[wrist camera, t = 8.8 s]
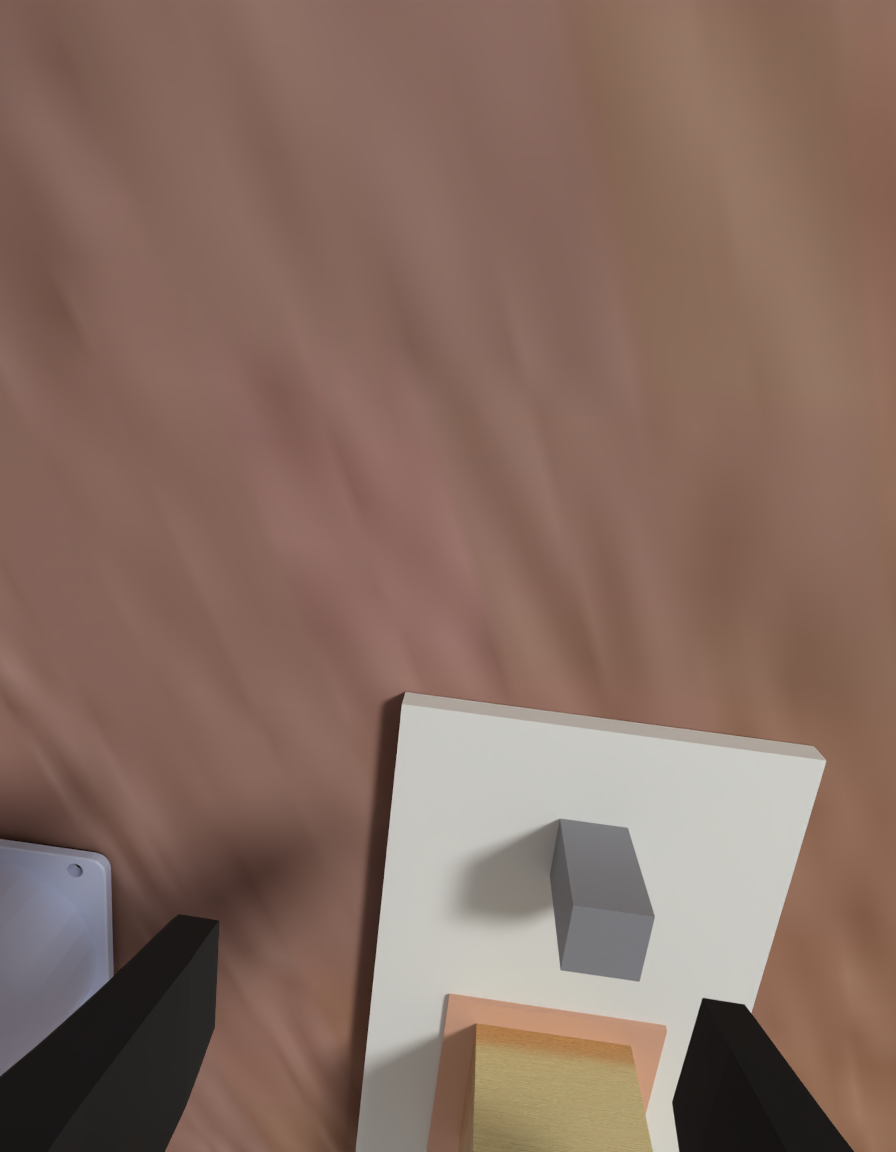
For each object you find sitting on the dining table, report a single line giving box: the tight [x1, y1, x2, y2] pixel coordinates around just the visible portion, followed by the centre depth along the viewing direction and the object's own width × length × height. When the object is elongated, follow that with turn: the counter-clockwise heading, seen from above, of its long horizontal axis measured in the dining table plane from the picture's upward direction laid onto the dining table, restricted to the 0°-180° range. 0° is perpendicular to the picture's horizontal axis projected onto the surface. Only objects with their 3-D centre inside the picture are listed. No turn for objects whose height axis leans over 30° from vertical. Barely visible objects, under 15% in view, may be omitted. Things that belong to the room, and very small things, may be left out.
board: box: [356, 692, 826, 1152], centre depth 20 cm, size 12×18×4 cm, turn 174°
